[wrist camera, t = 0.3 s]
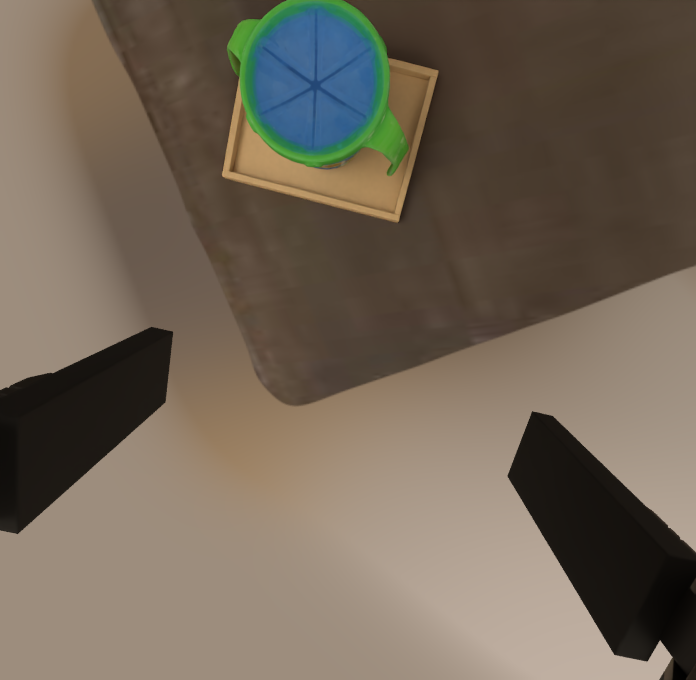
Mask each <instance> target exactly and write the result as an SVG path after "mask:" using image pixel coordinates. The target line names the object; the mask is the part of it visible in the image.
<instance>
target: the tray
mask: <svg viewBox="0 0 696 680" xmlns="http://www.w3.org/2000/svg"><path fill="white" fill-rule="evenodd" d="M388 61H389V66H390V92H389V98H388V105H389V108H390V110H391V111H392V113H393V115H394V116H395V118H396V119H397V121H398V123H399V125H400V127H401V129H402V131H403V132H404V135H405V137H406V140H407V143H408V146H409V150H408V152H407V153H406V155H405V156H404V158H403V160H402V161H401V163H400V164H399V167H398V168H397V170H396V171H395V173H394V174H393V175H392V176H387V170H388V168H389V167H390V165H391V162H390V161H389V160H388V159H387V158H386V157H385V156H384V155H383V153H381V152H379V151H377V150H374V149H371V148H367V147H365V148H362V149H361V150H360V152H359V153H358V154H357V156H356V157H355V158H354V159H353V160H351V161H350V162H349V163H347V164H345V165H344V166H341V167H339V168H333V169H317V168H314V167H307V166H305V165H304V164H300V163H296V162H293V161H291V160H289V159H286V158H284V157H282V156H281V155H279V154H278V153H276V152H275V151H274V150H272V149H271V148H270V147H269V146H268V145H267V144H266V143H265V142H264V141H263V140H262V138H261V137H260V136H259V135H258V134H257V133H255V132H254V131H253V130H252V128H251V127H250V125H249V123H248V121H247V119H246V111H245V108H244V105H243V102H242V98H241V92H240V78H239V83H238V89H237V95H236V100H235V106H234V111H233V117H232V123H231V128H230V134H229V140H228V145H227V151H226V156H225V162H224V168H223V173H222V176H223V177H224V178H226V179H229V180H233V181H237V182H240V183H244V184H248V185H252V186H256V187H260V188H264V189H268V190H271V191H275V192H279V193H283V194H287V195H291V196H295V197H299V198H302V199H306V200H310V201H314V202H318V203H322V204H326V205H330V206H333V207H337V208H341V209H345V210H349V211H353V212H357V213H361V214H364V215H368V216H372V217H376V218H380V219H384V220H388V221H392V222H396V223H398V221H399V218H400V214H401V211H402V207H403V203H404V199H405V196H406V192H407V188H408V184H409V181H410V177H411V173H412V169H413V166H414V162H415V158H416V154H417V151H418V147H419V143H420V140H421V136H422V132H423V128H424V125H425V121H426V117H427V113H428V110H429V106H430V102H431V98H432V95H433V91H434V87H435V83H436V80H437V76H438V72H439V71H438V70H434V69H430V68H426V67H422V66H419V65H415V64H411V63H407V62H403V61H399V60H395V59H392V58H388Z"/></svg>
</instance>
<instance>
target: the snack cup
mask: <svg viewBox="0 0 696 680" xmlns="http://www.w3.org/2000/svg"><path fill="white" fill-rule="evenodd" d="M227 51H228V55H229V59H230V62H231V65H232V68H233V70H234V71H235V73H236V74H237V75H238V76H239V77H240V92H241V98H242V102H243V105H244V108H245V111H246V119H247V121H248V123H249V125H250V127H251V128H252V130H253V131H254V132H255V133H257V134H258V135H259V136H260V137H261V138H262V140H263V141H264V142H265V143H266V144H267V145H268V146H269V147H270V148H271V149H272V150H274V151H275V152H276V153H278V154H279V155H281V156H282V157H284V158H286V159H289V160H291V161H293V162H296V163H300V164H304V165H305V166H307V167H314V168H317V169H333V168H339V167H341V166H344V165H345V164H347V163H349V162H350V161H351V160H353V159H354V158H355V157H356V156H357V154H358V153H359V152H360V150H361V149H362V148H365V147H367V148H371V149H374V150H377V151H379V152H381V153H383V155H384V156H385V157H386V158H387V159H388V160H389V161H390V162H391V165H390V167H389V168H388V170H387V176H392V175H393V174H394V173H395V171H396V170H397V168H398V167H399V164H400V163H401V161H402V160H403V158H404V156H405V155H406V153H407V152H408V150H409V146H408V143H407V140H406V137H405V135H404V132H403V131H402V129H401V127H400V125H399V123H398V121H397V119H396V118H395V116H394V115H393V113H392V111H391V110H390V108H389V105H388V98H389V92H390V66H389V61H388V57H387V48H386V46H385V43H384V41H383V39H382V37H381V36H379V34H378V32H377V31H376V29H375V28H374V26H373V25H372V23H371V22H370V21H369V20H368V19H367V18H366V16H364V15H363V14H362V13H361V11H360V10H358V9H357V8H355V7H353V6H352V5H350V4H348V3H347V2H345V1H342V0H287V1H285V2H283V3H281V4H279V5H278V6H276V7H275V8H273V9H272V10H271V11H270V12H268V13H267V14H266V15H265V16H264V17H263V18H262V19H261V20H257V19H247V20H244V21H242V22H240V23H239V24H238V26H237V28H236V29H235V31H234V33H233V35H232V37H231V39H230V41H229V43H228V46H227Z"/></svg>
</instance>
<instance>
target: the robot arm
mask: <svg viewBox="0 0 696 680" xmlns="http://www.w3.org/2000/svg"><path fill="white" fill-rule="evenodd" d="M172 337H173V332H172V331H167V330H163V329H158V328H154V327H151V328H148V329H146V330H144V331H142V332H140V333H138V334H136V335H133V336H131V337H129V338H127V339H125V340H123V341H121V342H118V343H117V344H114V345H112V346H110V347H108V348H106V349H104V350H102V351H99V352H97V353H95V354H93V355H91V356H89V357H87V358H84V359H82V360H80V361H78V362H76V363H74V364H72V365H70V366H68V367H65V368H64V369H61V370H59V371H57V372H55V373H47V374H43V375H38V376H34V377H30V378H26V379H24V380H22V381H20V382H17V383H15V384H13V385H11V386H10V387H9V388H4V389H2V390H0V530H1V531H6V532H11V533H16V534H18V533H19V532H20V531H21V530H23V529H24V528H25V527H26V526H27V525H28V524H29V523H30V522H32V521H33V520H34V519H35V518H36V517H37V516H38V515H40V514H41V513H42V512H43V511H44V510H45V509H46V508H47V507H49V506H50V505H51V504H52V503H53V502H54V501H55V500H56V499H58V498H59V497H60V496H61V495H62V494H63V493H64V492H65V491H66V490H68V489H69V488H70V487H71V486H72V485H73V484H74V483H75V482H77V481H78V480H79V479H80V478H81V477H82V476H83V475H84V474H86V473H87V472H88V471H89V470H90V469H91V468H92V467H93V466H94V465H96V464H97V463H98V462H99V461H100V460H101V459H102V458H103V457H105V456H106V455H107V454H108V453H109V452H110V451H111V450H112V449H114V448H115V447H116V446H117V445H118V444H119V443H120V442H121V441H122V440H124V439H125V438H126V437H127V436H128V435H129V434H130V433H131V432H133V431H134V430H135V429H136V428H137V427H138V426H139V425H140V424H142V423H143V422H144V421H145V420H146V419H147V418H148V417H149V416H151V415H152V414H153V413H154V412H155V411H156V410H157V409H158V408H159V407H161V406H162V405H163V404H164V403H165V401H166V392H167V383H168V374H169V365H170V355H171V345H172ZM508 478H509V480H510V481H511V483H512V485H513V486H514V488H515V489H516V491H517V493H518V494H519V496H520V498H521V499H522V501H523V503H524V505H525V506H526V508H527V509H528V511H529V513H530V515H531V516H532V518H533V520H534V521H535V523H536V525H537V526H538V528H539V529H540V531H541V533H542V535H543V536H544V538H545V540H546V541H547V543H548V545H549V546H550V548H551V550H552V551H553V553H554V555H555V556H556V558H557V560H558V561H559V563H560V565H561V566H562V568H563V570H564V571H565V573H566V575H567V576H568V578H569V580H570V581H571V583H572V585H573V586H574V588H575V590H576V591H577V593H578V595H579V596H580V598H581V600H582V601H583V603H584V605H585V607H586V608H587V610H588V611H589V613H590V615H591V616H592V618H593V620H594V622H595V623H596V625H597V627H598V628H599V630H600V631H601V633H602V635H603V637H604V638H605V640H606V642H607V643H608V645H609V647H610V648H611V650H612V652H613V653H614V655H618V656H623V657H627V658H633V659H637V660H642V661H648V660H649V658H650V656H651V654H652V653H653V651H654V649H655V648H656V646H657V644H658V642H659V641H660V640H661V642H662V643H663V645H664V646H665V647H666V649H667V650H668V652H669V653H670V654H671V656H672V657H673V658H672V659H671V661H670V663H669V664H668V666H667V668H666V670H665V671H664V673H663V675H662V676H661V678H660V680H696V552H695V551H694V550H693V549H692V548H691V547H690V546H689V545H688V544H687V543H685V542H684V541H683V540H680V537H679V536H678V535H677V534H676V533H675V532H674V531H673V530H672V529H671V528H668V525H667V524H666V523H665V522H664V521H662V520H661V519H660V518H659V517H658V516H657V515H656V514H655V513H654V512H653V511H652V510H650V509H649V508H648V507H646V506H645V505H644V504H643V503H642V502H641V501H640V500H639V499H638V498H637V497H636V496H635V495H634V494H633V493H632V492H631V491H629V490H628V489H627V488H626V487H625V486H624V485H623V484H622V483H621V482H620V481H619V480H618V479H617V478H616V477H615V476H614V475H613V474H612V473H611V472H610V471H609V470H608V469H607V468H606V467H605V466H604V465H603V464H602V463H601V462H600V461H598V460H597V458H595V457H594V456H593V455H592V454H591V453H590V452H589V451H588V450H587V449H586V448H585V447H584V446H583V445H582V444H581V443H580V442H579V441H578V440H577V439H576V438H575V437H574V436H573V435H572V434H571V433H570V432H569V431H568V430H567V429H566V428H564V427H563V426H562V425H561V424H560V423H559V422H558V421H557V420H556V419H555V418H554V417H553V416H550V415H546V414H542V413H537V412H533V411H532V413H531V416H530V419H529V421H528V424H527V426H526V429H525V432H524V434H523V437H522V439H521V442H520V445H519V447H518V450H517V453H516V455H515V458H514V460H513V463H512V466H511V468H510V471H509V473H508Z"/></svg>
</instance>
